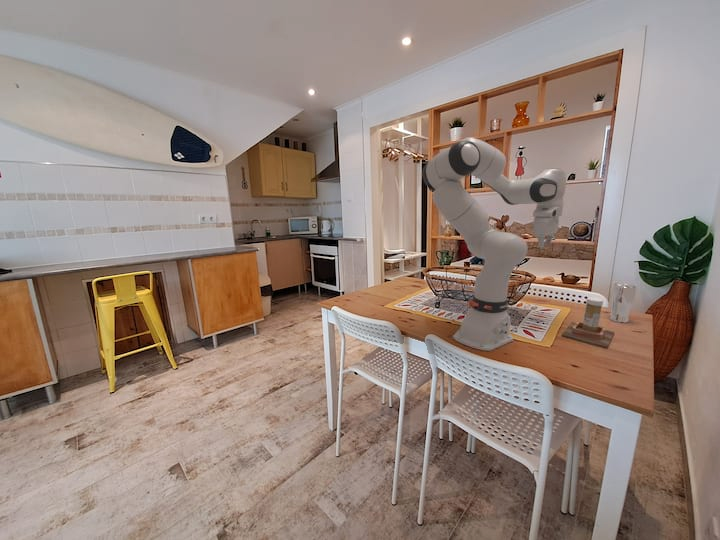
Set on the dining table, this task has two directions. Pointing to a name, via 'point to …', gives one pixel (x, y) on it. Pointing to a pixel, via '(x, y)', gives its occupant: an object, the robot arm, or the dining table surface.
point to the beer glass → (622, 301)
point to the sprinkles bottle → (592, 314)
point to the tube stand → (588, 335)
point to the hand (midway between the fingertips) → (544, 246)
